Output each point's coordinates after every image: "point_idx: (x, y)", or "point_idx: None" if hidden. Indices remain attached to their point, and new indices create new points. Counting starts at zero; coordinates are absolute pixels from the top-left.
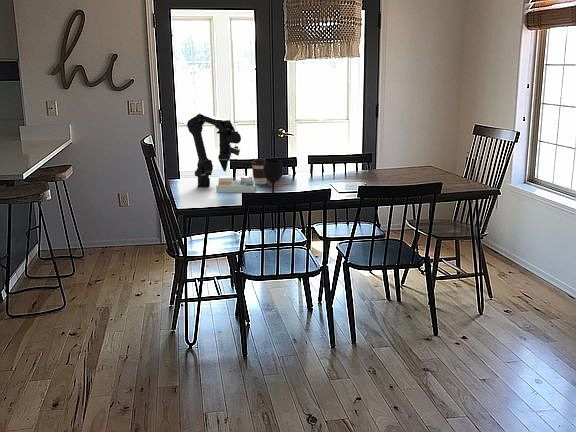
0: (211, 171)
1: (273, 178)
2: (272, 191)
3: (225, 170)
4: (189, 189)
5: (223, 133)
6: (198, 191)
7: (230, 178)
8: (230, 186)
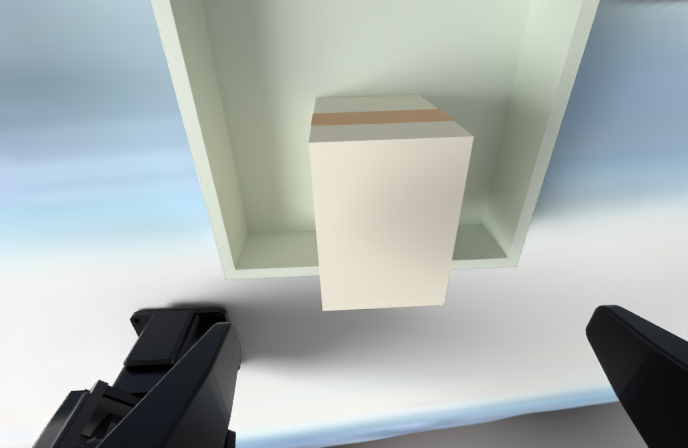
0: (117, 423)
1: None
2: None
3: (636, 321)
4: (324, 388)
5: None
6: (394, 341)
7: (467, 148)
8: (559, 112)
